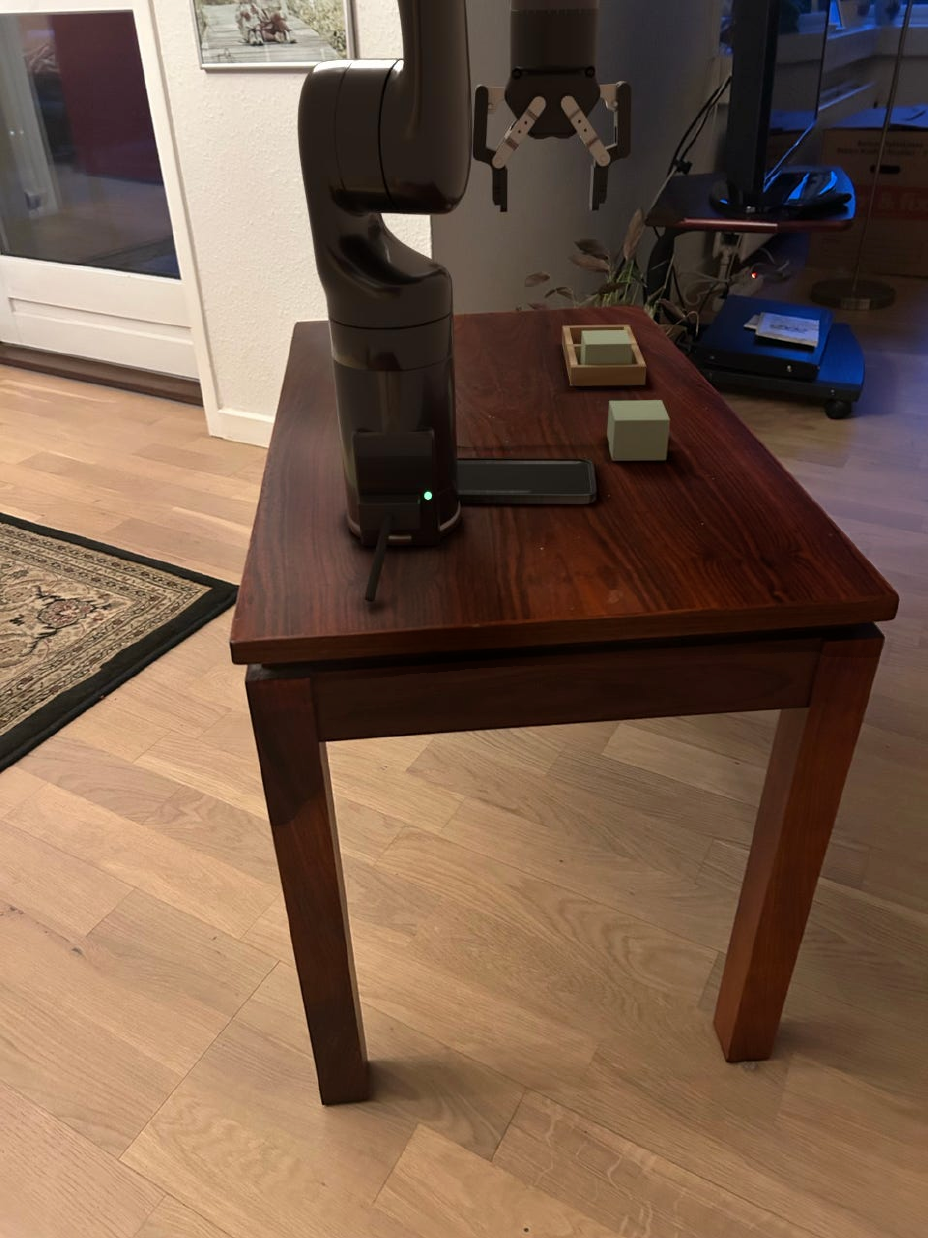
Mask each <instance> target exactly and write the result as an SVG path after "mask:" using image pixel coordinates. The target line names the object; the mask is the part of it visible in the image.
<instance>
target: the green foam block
mask: <svg viewBox="0 0 928 1238" xmlns="http://www.w3.org/2000/svg"><path fill="white" fill-rule="evenodd" d="M631 347H632V343H631V341H630V338H629V336H628V333H627V331H626V330H597V331H582V338H581V360H580V365H618V364H630V360H631Z"/></svg>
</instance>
